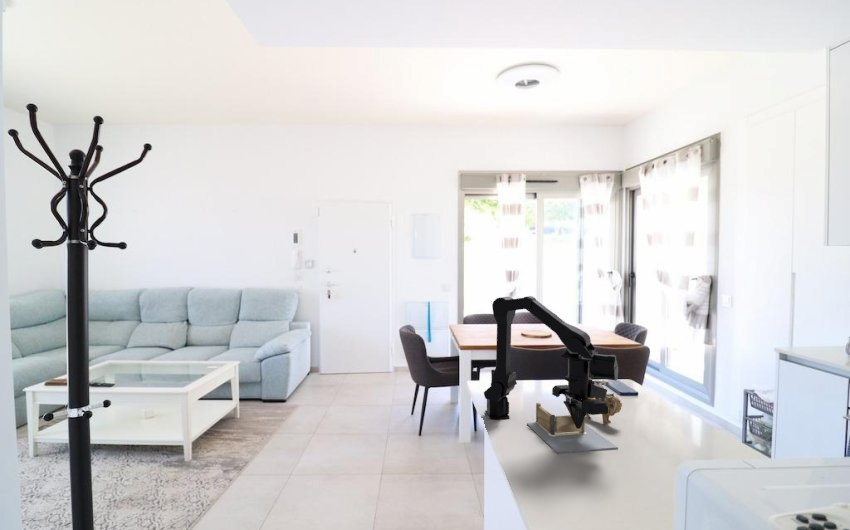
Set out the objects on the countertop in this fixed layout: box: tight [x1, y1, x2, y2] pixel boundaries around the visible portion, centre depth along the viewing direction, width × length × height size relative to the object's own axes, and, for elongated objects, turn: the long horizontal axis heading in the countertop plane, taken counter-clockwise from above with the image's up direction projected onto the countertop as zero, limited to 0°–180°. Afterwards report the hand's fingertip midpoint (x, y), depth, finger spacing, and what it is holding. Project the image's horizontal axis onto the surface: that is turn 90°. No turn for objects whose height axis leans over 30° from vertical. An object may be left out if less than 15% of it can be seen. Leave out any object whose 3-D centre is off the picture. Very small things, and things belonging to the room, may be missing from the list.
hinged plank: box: [555, 414, 586, 433], centre depth 113 cm, size 9×1×6 cm, turn 100°
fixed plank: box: [535, 402, 556, 435], centre depth 116 cm, size 1×11×6 cm, turn 9°
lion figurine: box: [585, 396, 623, 426], centre depth 124 cm, size 15×5×9 cm, turn 36°
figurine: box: [589, 377, 615, 400], centre depth 147 cm, size 20×6×17 cm
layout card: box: [526, 421, 619, 454], centre depth 112 cm, size 18×19×1 cm
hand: (578, 428), depth 111 cm, fingers closed
